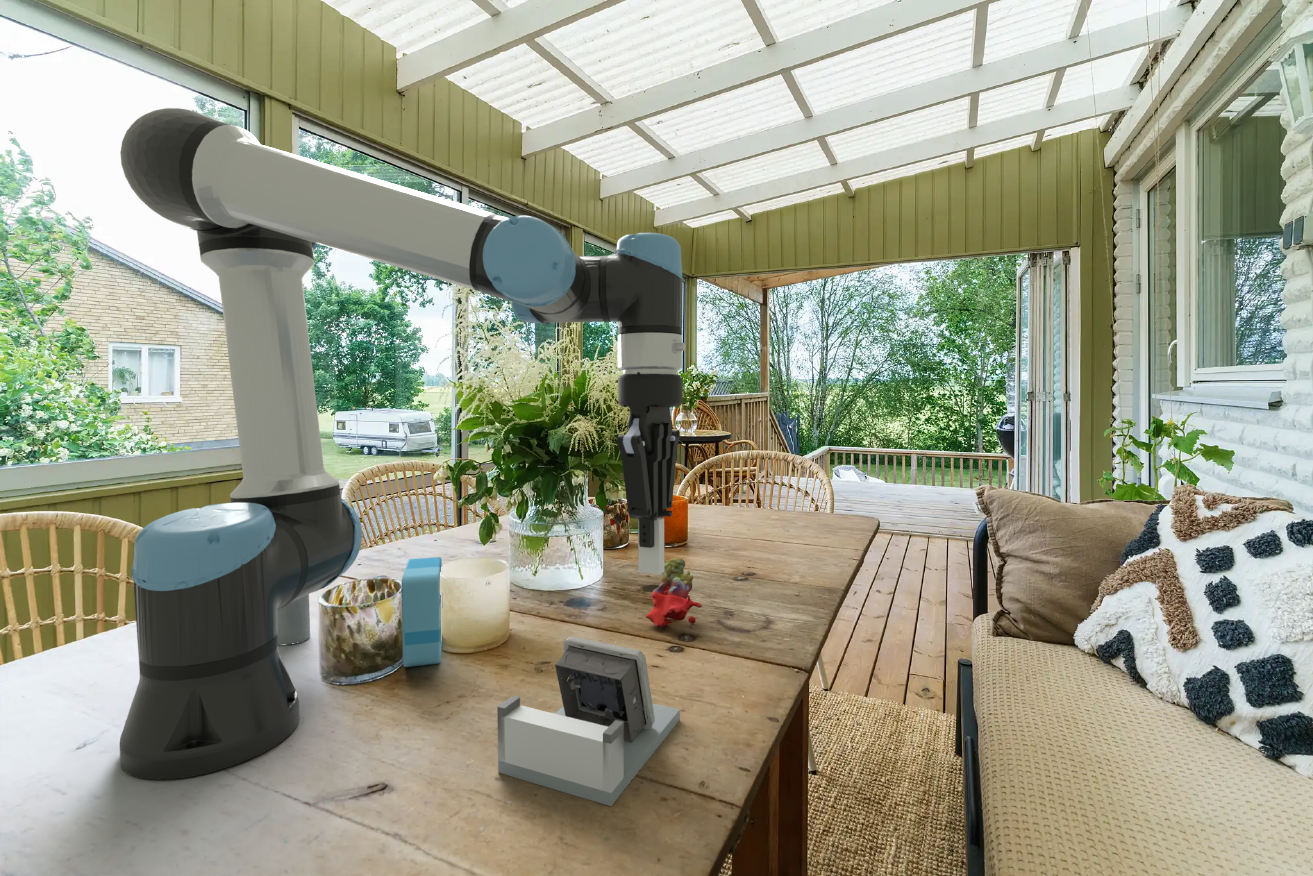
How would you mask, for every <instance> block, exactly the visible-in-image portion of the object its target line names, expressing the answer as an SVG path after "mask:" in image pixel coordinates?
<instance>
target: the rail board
mask: <svg viewBox="0 0 1313 876" xmlns="http://www.w3.org/2000/svg"><path fill="white" fill-rule="evenodd" d="M652 704H653V710H654V717H655V721H654V723H653V726H652V728H650V729H649V730H647V729H643V728H642V729H641V731H640V732H639V733H638V734H637V735H636V737H635V738H634V740H633V742H632V743H629V742H625V741H624V722H622V721H618V720H615V721H614V722H613V723H612V724H611V725H610V726H609V727H607V726H603V725H599V724H598V723H597V724H595V723H591V722H587V721H583V720H579V719H574V718H570V717H566V716H565V711H564V706H562V707H561V708H559V709H558V710H557V711H555V712H549V711H545V710H541V709H536V708H533V707H528V706H525V705H521V697H520V696H518V695H512V696H511V697H509V698H507V699H506V700H505V701H504V702H502V703H501V704H499V705H498V706H497V767H498V768H497V770H498V773H499V774H503V775H505V776H509V777H512V778H515V779H520V780H522V781H526V782H528V783H531V784H536V785H538V786H542V787H546V788H548V789H551V790H554V791H555V790H556V791H559V792H562V793H566V794H569V795H572V796H575V797H578V798H582V799H585V800H588V801H593V802H595V803H598V804H601V805H604V806H605V805H606V806H608V807H613V805H614V803H615V802H616V801H617V800H618V798H619V797H620V796H621V795H622V794H623V792H624V791H625V790H624V789H626V788H628V786H629V785H630V783H631V782H632V781H633V780H632V779H634V778H635V777H636V775H638V773H639V772H640V771H641V769H643V767H644V765H646V763H647V762H648V761H649V760H650V758H652V755H653V754H654V753H655V752H656V750H658V748H659V747H660V746H661V744H662V743H663V742H664V741H665V739H666V738H667V737H668V736H669V734H670V733H671V732H672V730H674V728H676V725H677V724H678V723H679V722H680V720H681V719H680V718H681V710H680V708H675V707H670V706H666V705H662V704H657V703H653V702H652ZM600 718H601V717H600ZM611 721H612V720H610V719H606V718H604V721H603V724H604V725H607V724H610V722H611ZM659 745H660V746H659ZM639 770H640V771H639ZM631 780H632V781H631ZM628 784H629V785H628ZM620 794H621V795H620Z"/></svg>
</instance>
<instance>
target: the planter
mask: <svg viewBox="0 0 1313 876" xmlns="http://www.w3.org/2000/svg"><path fill="white" fill-rule="evenodd" d="M310 618H311V617H310V594H308V595H306V596H304V597H302V598H300V599H298V600H296V601H294V602H292V603H290V604H288V605H286V606H284V607H282V608H280V609H278V610H277V628H278V644H292V643H297V642H301V643H303V642H305V641H304V640H306V641H307V640H309V639H310V638H311V621H310V620H311V619H310ZM308 638H309V639H308ZM302 641H303V642H302ZM297 644H298V643H297ZM292 645H293V644H292Z"/></svg>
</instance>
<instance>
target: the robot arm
mask: <svg viewBox="0 0 1313 876" xmlns="http://www.w3.org/2000/svg"><path fill="white" fill-rule="evenodd" d="M120 163H121V168H122V170H123V174H124V177H125V179H126V180H127V183H128V184H129V186H130V188H131V190H132V191H133V192H134V193H135V194H136V196H137V197H138V199H140V201H141V202H142V203H144V204H145V205H146V206H147V207H148V208H149V209H150V210H152V211H153V212H154V213H156V214H157V215H160V216H161V217H162V218H164V219H166V220H167V221H170V222H172V223H175V224H177V225H178V226H181V227H184V228H187V229H190V230H193V231H196V233H197V242H198V249H199V256H200V257H199V259H200V262H201V263H202V264H203V265H205V266H206V267H207V268H208V269H209V270H211V271H212V272H213V273H215V274H216V276H217V277H218V283H219V290H220V300H221V307H222V315H223V323H224V330H225V340H226V348H227V355H228V366H229V372H230V380H231V389H232V396H233V397H232V398H233V404H234V411H235V421H236V429H237V437H238V445H239V452H240V453H239V455H240V460H241V468H242V469H241V470H242V476H243V478H242V479H241V481H240V483H239V484H238V485H237V486H236V487H235V488H234V490H233V491H232V492H231V493H230V494H229V496H230V502H227V503H226V502H225V503H224V502H223V503H216V504H215V503H214V504H209V505H208V504H207V505H205V506H202V507H200V508H199V507H198V508H195V507H193V508H188V509H183V510H179V511H177V512H174V513H170V514H167V515H165V516H163V517H160V518H158V519H155V520H153V521H151V522H150V523H148V524H146V525H145V526H144V527H143V528H142V529H141V530H140V531H139V532H138V533H137V535H136V537H135V541H134V546H133V563H132V566H131V578H132V580H133V592H134V593H133V594H134V607H135V620H136V621H135V622H136V637H137V639H136V640H137V652H138V663H139V664H138V665H139V666H138V667H139V669H138V670H139V680H138V683H137V686H136V689H135V694H134V696H133V699H132V702H131V705H130V707H129V711H128V714H127V716H126V719H125V723H124V726H123V729H122V730H121V734H120V737H119V759H120V761H119V762H120V766H121V768H122V770H123V771H124V773H126V774H129V775H131V776H133V777H135V778H139V779H144V780H145V779H146V780H171V779H173V780H174V779H183V778H190V777H195V776H200V775H204V774H208V773H209V774H210V773H212V772H213V773H214V772H216V771H220V770H223V769H226V768H227V769H228V768H229V767H232V766H235V765H238V764H241V763H243V762H246V761H248V760H251V759H253V758H255V757H257V756H259V755H261V754H264V753H266V752H267V751H269V750H271V749H272V748H274V747H276V746H277V745H279V744H280V743H282V741H284V740H285V739H287V738H288V737H289V736H290V735H291V734H292V733H293V732H294V731H295V729H296V728H297V726H298V725H299V722H300V699H299V695H298V692H297V690H296V688H295V686H294V683H293V681H292V679H291V676H290V674H289V672H288V670H287V668H286V665H285V663H284V661H283V659H282V656H281V654H280V652H279V645H278V628H277V610H278V609H280V608H282V607H284V606H286V605H288V604H290V603H292V602H294V601H296V600H298V599H300V598H302V597H304V596H306V595H308V594H309V595H310V594H312V593H314V592H315V593H316V592H317V591H319V590H320V591H321V590H322V589H325V588H326V587H328V586H330V585H331V584H332V583H333V582H335V581H336V580H337V579H338V578H339V577H342V575H344V574H345V573H346V572H347V571H349V569H351V568H350V567H352V565H353V564H354V562H356V559H357V558H358V555H359V553H360V550H361V547H362V543H363V542H362V541H363V529H362V523H361V520H360V517H359V515H358V513H357V511H356V510H355V509H354V508H353V507H351V506H350V505H349V504H348V502H347V501H346V500H345V499H343V498H342V495H341V487H340V486H341V485H340V481H339V480H338V479H337V478H336V477H335V476H333V475H331V473H329V472H327V471H326V469H325V467H324V459H323V458H324V457H323V450H322V442H321V441H322V439H321V431H320V422H319V414H318V407H317V406H318V405H317V397H316V396H317V395H316V390H315V389H316V388H315V379H314V371H313V362H312V353H311V345H310V335H309V328H308V327H309V326H308V317H307V309H306V300H305V292H304V284H303V278H304V276H305V275H306V274H307V273H308V272H309V271H311V269H312V268H313V267H314V266H315V258H314V256H315V255H314V251H315V250H316V249H317V248H318V246H319V245H322V246H325V247H328V248H331V249H335V250H338V251H341V252H345V253H348V254H351V255H355V256H357V257H362V258H366V259H368V260H369V259H370V260H372V261H376V262H378V263H383V264H385V265H389V266H393V267H395V268H399V269H403V270H406V271H409V272H412V273H413V272H414V273H416V274H420V275H423V276H427V277H430V278H433V279H437V280H440V281H443V282H447V283H450V284H454V285H457V286H461V287H462V288H463V287H464V288H467V289H470V290H475V291H477V292H481V293H482V294H484V295H488V296H491V297H495V298H499V299H502V300H505V301H508V302H510V305H511V309H512V310H513V312H514V315H515V317H516V318H517V319H518V320H519V321H521V322H523V323H535V324H537V323H538V324H543V325H551V324H553V323H554V324H557V323H558V324H559V323H563V324H564V323H566V324H567V323H590V322H591V323H595V322H599V323H600V322H604V323H612V322H617V369H618V370H619V371H622V374H620V375H619V377H617V391H618V392H617V393H618V394H617V397H618V398H617V399H618V401H617V402H618V404H619V406H621V407H622V408H628V409H629V413H628V414H629V416H628V420H627V429H628V431H627V433H626V434H618V436H617V437H616V444H617V447H618V450H619V453H620V457H621V464H622V472H623V474H622V475H623V480H624V481H623V482H624V489H625V490H624V491H625V496H626V497H625V498H626V505H627V513H628V516H629V518H630V519H636V520H637V523H638V524H637V527H638V528H637V532H638V533H637V540H638V541H637V542H638V545H637V549H638V550H637V551H638V556H637V557H638V561H637V562H638V564H637V565H638V568H637V569H638V573H639V574H647V575H648V574H649V575H655V576H656V575H657V576H661V574H662V573H663V572H664V565H665V518H664V517H666V518H667V517H669V518H671V517H672V515H673V510H668V509H671V508H672V506H673V498H674V490H675V489H674V486H675V476H676V463H677V451H678V446H679V441H680V437H681V432H680V430H679V429H673V424H672V416H671V409H670V408H674V407H681V405H682V404H683V400H684V399H683V395H684V394H683V393H684V392H683V391H684V390H683V388H684V387H683V384H684V383H683V377H682V376H681V374H678V371H680V370H681V369H682V368H683V352H684V351H685V350H686V347H687V346H686V344H685V343H684V342H683V293H684V292H683V288H684V286H683V283H684V282H683V281H684V280H683V279H684V278H683V263H682V247H681V245H680V243H679V242H678V241H677V239H675V238H674V237H672V236H670V235H668V234H664V233H658V232H638V233H635V234H634V233H632V234H631V233H630V234H626V235H624V236H622V237H620V238H619V239H618V240H617V243H616V249H615V252H614V253H615V254H608V255H601V256H600V255H594V256H593V255H578V254H577V253H576V252H575V251H574V249H573V248H572V247H571V245H570V243H569V241H568V240H567V239H566V237H565V235H563V233H562V232H560V231H558V230H557V229H556V228H555V227H554V226H553V225H551V224H549V223H547V222H546V221H544V220H542V219H541V218H538V217H535V216H530V215H519V216H517V215H516V216H512V217H507V216H504V215H503V216H502V215H498V214H496V213H493V212H489V211H486V210H483V209H480V208H476V207H474V206H469V205H467V204H463V203H460V202H457V201H453V200H449V199H446V198H443V197H438V196H436V195H433V194H428V193H427V192H426V193H425V192H423V191H422V192H421V191H418V190H415V189H412V188H409V187H405V186H402V185H398V184H395V183H391V182H388V181H385V180H381V179H378V178H374V177H371V176H368V175H364V174H361V173H358V172H355V171H351V170H347V169H344V168H341V167H338V166H334V165H330V164H327V163H324V162H320V161H318V160H314V159H310V158H307V157H304V156H301V155H297V154H293V153H290V152H288V151H284V150H280V149H277V148H275V147H270V146H267V145H262V144H261V143H260V142H259V140H258V139H257V138H256V136H254V135H253V133H251V132H250V131H248V130H247V129H245V128H242V127H241V126H236V125H234V124H230V123H227V122H224V121H221V120H217V119H215V118H212V117H209V116H207V115H205V114H202V113H200V112H197V111H194V110H190V109H186V108H181V107H180V108H179V107H178V108H175V107H174V108H172V107H169V108H165V107H164V108H160V109H156V110H152V111H150V112H147V113H145V114H143V115H141V116H140V117H138V118H137V119H136V120H135V121H134V122H133V123H132V124H131V125H130V126H129V127H128V129H127V130H126V132H125V134H124V136H123V138H122V141H121V147H120Z"/></svg>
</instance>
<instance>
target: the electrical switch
mask: <svg viewBox="0 0 1313 876" xmlns="http://www.w3.org/2000/svg"><path fill="white" fill-rule="evenodd" d="M563 650H564V652H563V653H562V656H561V657H560V659H559V660H558V661H556V662H555V665H554V668H555V672H556V677H557V681H558V686H559V693H560V697H561V701H562V705H563V706H564V711H565V716H566V717H570V718H574V719H579V720H583V721H587V722H591V723H595V724H597V723H598V724H599V725H603V726H607V727H609V726H610V725H611V724H612V723H613V722H614V721H615V720H618V721H622V722H624V741H625V742H629V743H632V742H633V740H634V738H635V737H636V735H637V734H638V733H639V732H640V731H641V729H642V728H643V729H647V730H649V729H650V728H652V726H653V723H654V721H655V717H654V710H653V704H654V703H653V697H652V691H651V686H650V679H649V672H648V665H647V659H646V655H645V654H644V653H643V652H642V650H641V649H636V648H631V647H625V646H620V645H616V644H610V643H605V642H601V641H598V640H597V641H596V640H591V639H588V638H587V639H586V638H582V637H577V636H573V635H571V636H569V637H568V638H566V640H564V641H563ZM652 703H653V704H652ZM563 706H562V707H563ZM600 717H601V718H600ZM604 718H606V719H610V720H612V721H611V722H610V724H607V725H604V724H603V721H604Z"/></svg>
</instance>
